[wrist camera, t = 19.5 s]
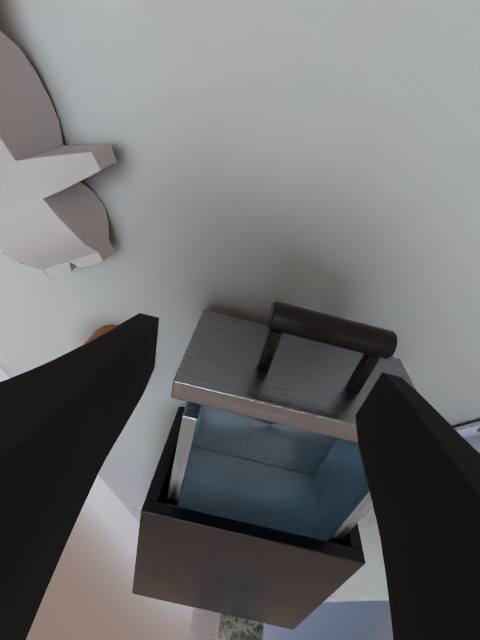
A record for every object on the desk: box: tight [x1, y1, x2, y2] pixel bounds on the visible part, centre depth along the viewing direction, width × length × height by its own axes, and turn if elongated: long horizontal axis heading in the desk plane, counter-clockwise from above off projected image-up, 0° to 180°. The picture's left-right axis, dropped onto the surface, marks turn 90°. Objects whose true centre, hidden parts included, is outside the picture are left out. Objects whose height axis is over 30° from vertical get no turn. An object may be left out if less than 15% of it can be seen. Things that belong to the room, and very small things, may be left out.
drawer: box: [166, 302, 416, 544], centre depth 20 cm, size 17×13×7 cm
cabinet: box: [132, 407, 365, 629], centre depth 27 cm, size 15×15×9 cm
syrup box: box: [188, 607, 264, 640], centre depth 32 cm, size 6×6×14 cm
